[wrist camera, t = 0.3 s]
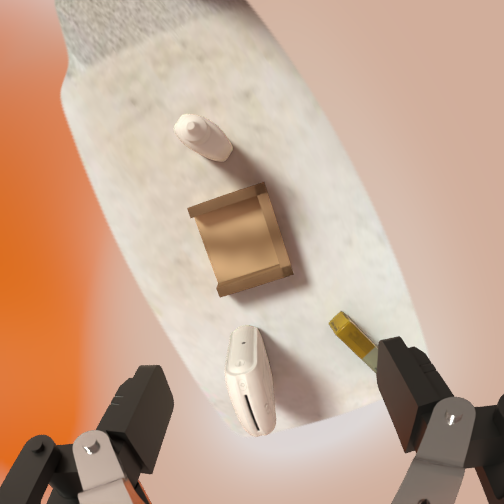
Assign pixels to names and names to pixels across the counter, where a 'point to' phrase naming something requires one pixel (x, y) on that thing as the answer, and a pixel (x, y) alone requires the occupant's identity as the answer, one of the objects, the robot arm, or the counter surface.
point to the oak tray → (242, 239)
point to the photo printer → (250, 381)
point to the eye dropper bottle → (203, 137)
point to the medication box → (355, 339)
